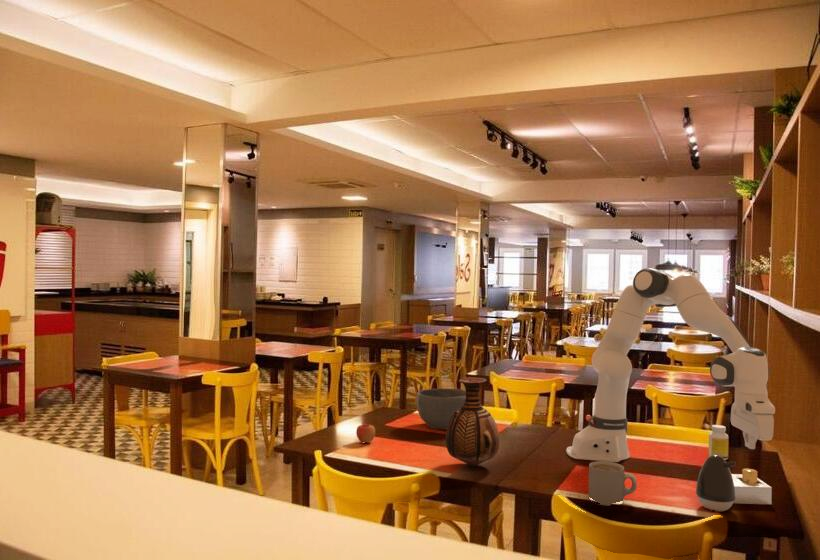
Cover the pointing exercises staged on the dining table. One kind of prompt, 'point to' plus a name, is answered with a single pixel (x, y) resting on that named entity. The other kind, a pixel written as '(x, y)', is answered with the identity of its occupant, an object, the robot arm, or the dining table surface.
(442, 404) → the bowl
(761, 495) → the jig block
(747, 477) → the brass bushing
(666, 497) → the dining table surface
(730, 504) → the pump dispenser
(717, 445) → the pill bottle
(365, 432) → the apple
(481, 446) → the vase
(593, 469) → the coffee mug
